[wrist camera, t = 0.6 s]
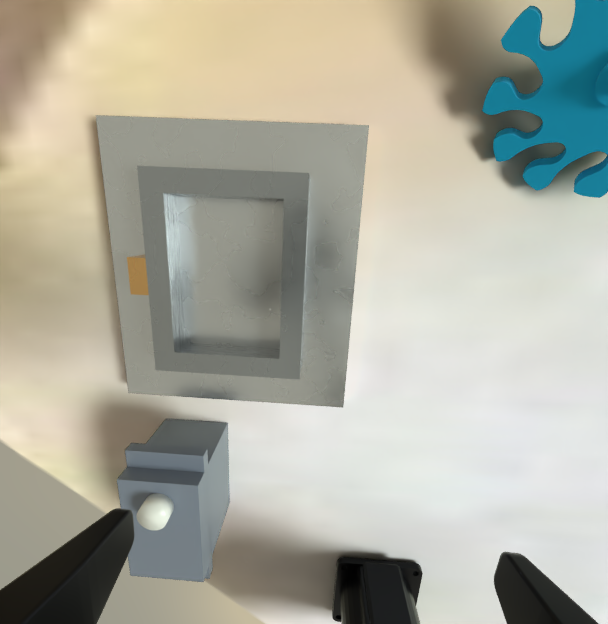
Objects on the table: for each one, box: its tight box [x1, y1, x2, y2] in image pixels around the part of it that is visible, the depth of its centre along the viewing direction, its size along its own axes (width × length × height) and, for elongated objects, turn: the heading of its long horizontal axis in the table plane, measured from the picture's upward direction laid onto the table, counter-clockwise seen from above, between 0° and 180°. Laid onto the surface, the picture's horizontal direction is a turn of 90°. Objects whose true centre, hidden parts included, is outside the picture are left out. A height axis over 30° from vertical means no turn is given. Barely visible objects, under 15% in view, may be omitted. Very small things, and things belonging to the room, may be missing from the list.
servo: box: [117, 419, 230, 582], centre depth 19 cm, size 9×4×6 cm, turn 177°
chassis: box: [96, 115, 369, 407], centre depth 17 cm, size 16×14×2 cm
